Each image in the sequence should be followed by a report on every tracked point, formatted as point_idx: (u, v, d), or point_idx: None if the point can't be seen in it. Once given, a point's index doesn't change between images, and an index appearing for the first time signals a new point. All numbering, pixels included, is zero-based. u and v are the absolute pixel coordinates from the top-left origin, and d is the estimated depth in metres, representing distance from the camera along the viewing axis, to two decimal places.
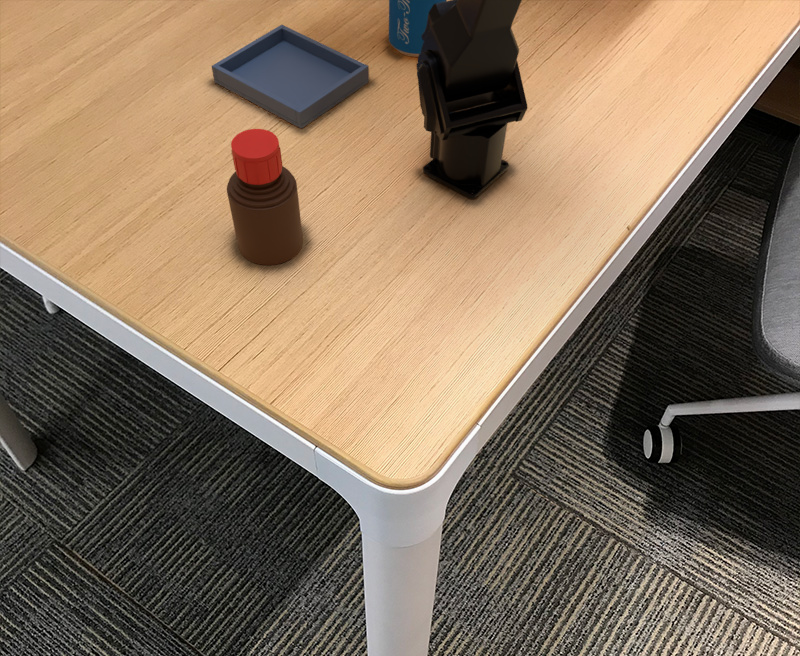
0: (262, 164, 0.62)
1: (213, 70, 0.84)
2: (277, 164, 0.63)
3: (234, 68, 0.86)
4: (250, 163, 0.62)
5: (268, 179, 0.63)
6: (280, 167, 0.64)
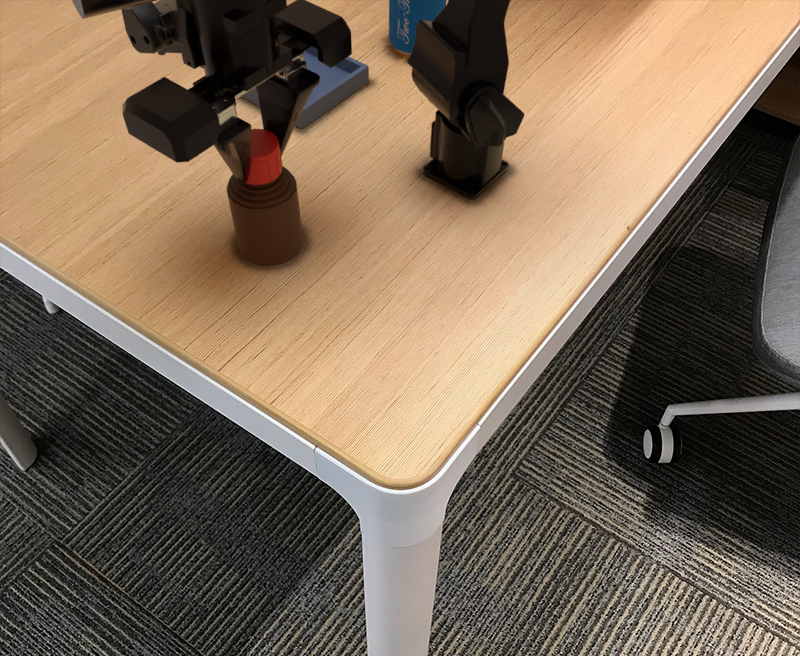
0: (262, 164, 0.62)
1: None
2: (277, 164, 0.63)
3: None
4: (250, 163, 0.62)
5: (268, 179, 0.63)
6: (280, 167, 0.64)
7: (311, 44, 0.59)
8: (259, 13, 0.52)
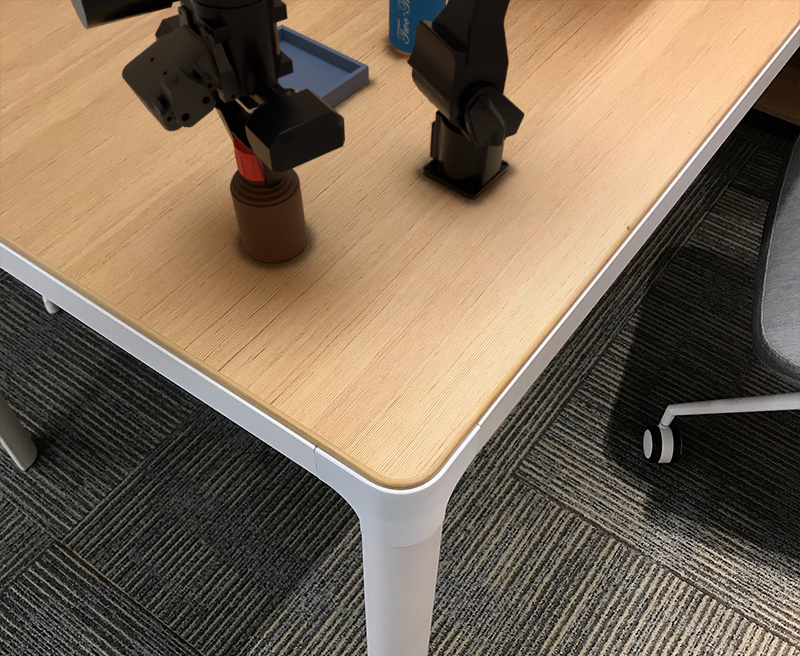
0: None
1: None
2: None
3: None
4: None
5: None
6: None
7: None
8: None
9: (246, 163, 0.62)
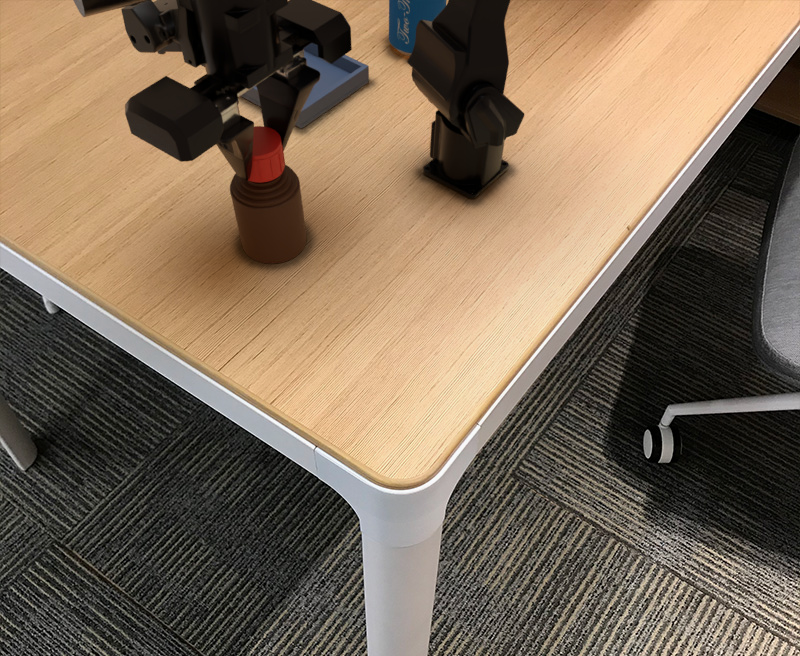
0: None
1: None
2: None
3: None
4: None
5: None
6: None
7: (311, 40, 0.59)
8: (260, 10, 0.52)
9: (275, 160, 0.62)
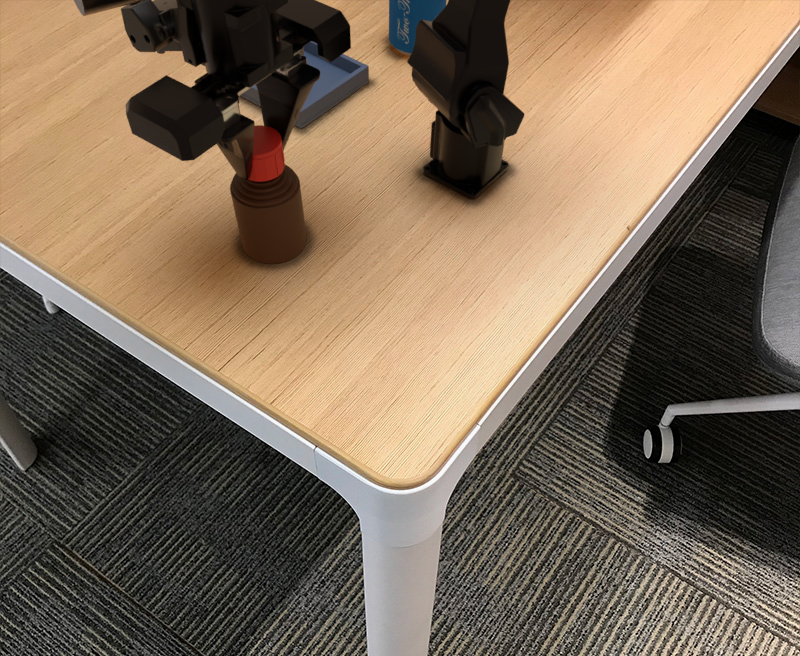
0: None
1: None
2: None
3: None
4: None
5: None
6: None
7: (311, 39, 0.59)
8: (261, 8, 0.52)
9: None
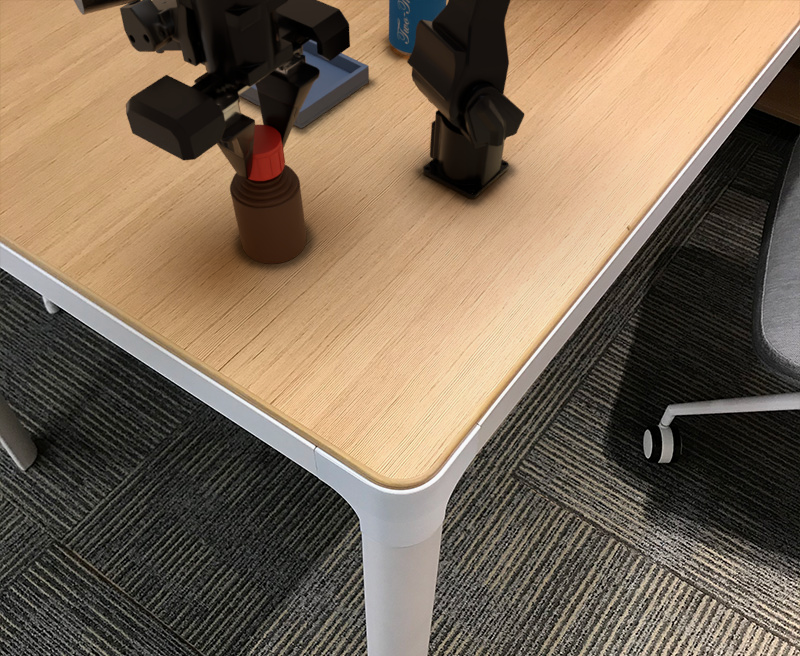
0: None
1: None
2: (259, 169, 0.62)
3: None
4: None
5: None
6: (265, 174, 0.63)
7: (310, 37, 0.59)
8: (261, 7, 0.52)
9: None
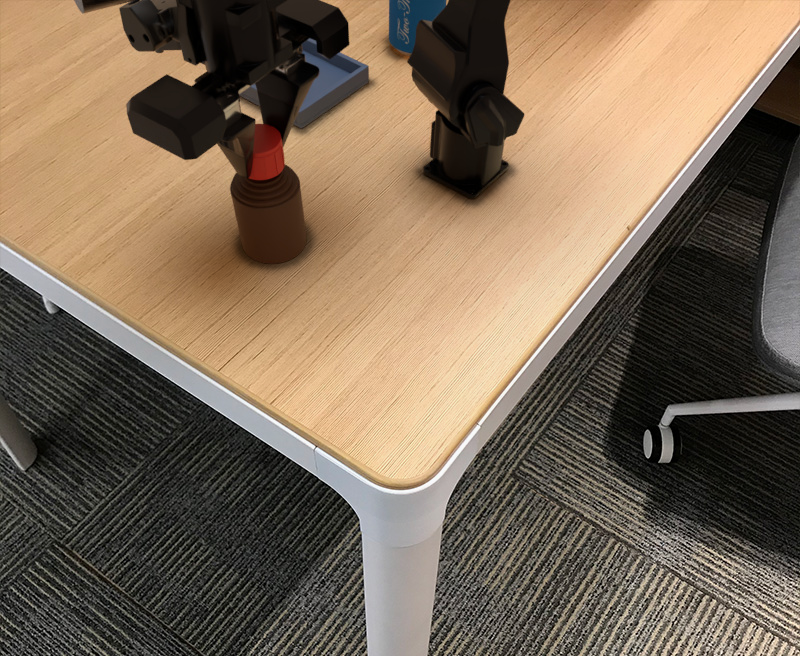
0: (270, 158, 0.62)
1: None
2: (282, 156, 0.63)
3: None
4: (258, 159, 0.62)
5: (275, 172, 0.63)
6: None
7: (310, 36, 0.59)
8: (261, 6, 0.52)
9: None
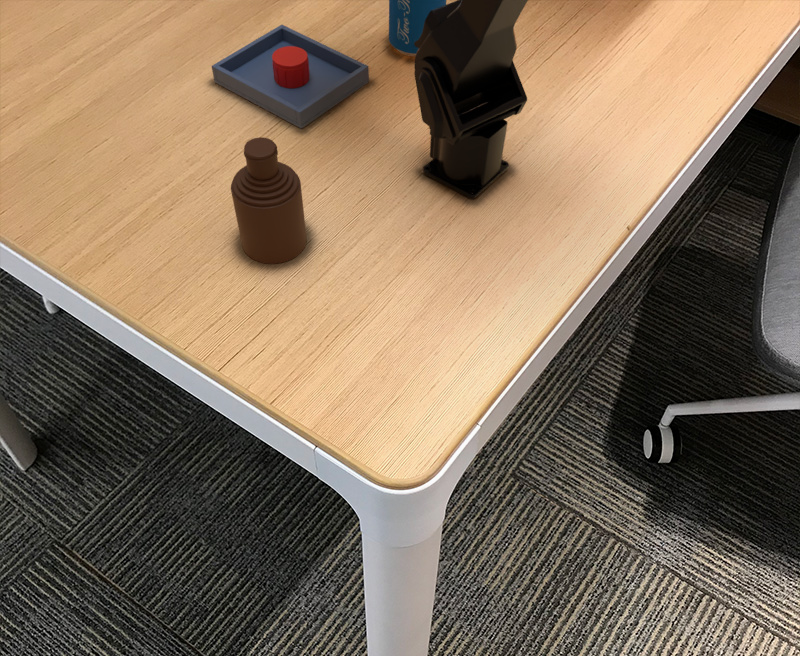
0: (298, 70, 0.83)
1: (213, 70, 0.84)
2: (307, 71, 0.84)
3: (234, 68, 0.86)
4: (289, 70, 0.83)
5: (302, 83, 0.84)
6: (308, 74, 0.85)
7: None
8: None
9: None
